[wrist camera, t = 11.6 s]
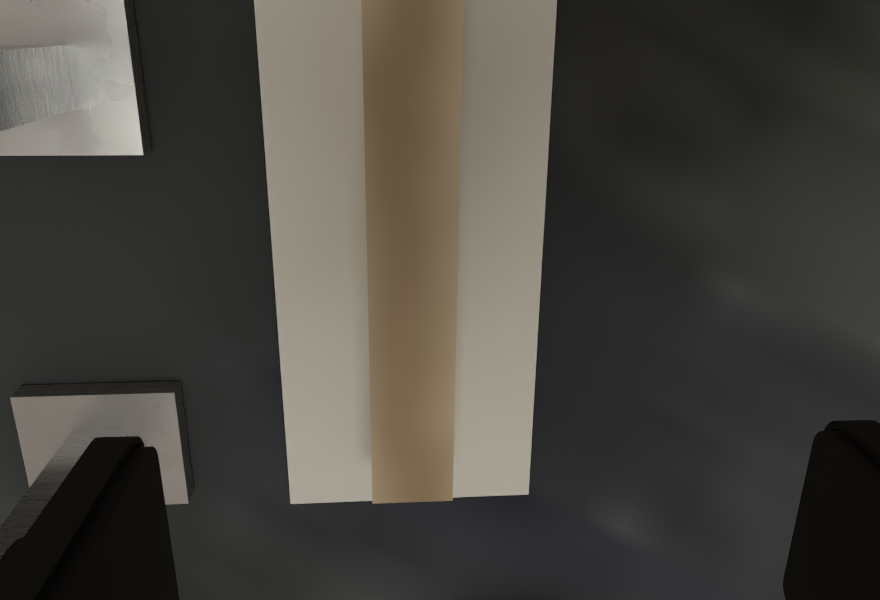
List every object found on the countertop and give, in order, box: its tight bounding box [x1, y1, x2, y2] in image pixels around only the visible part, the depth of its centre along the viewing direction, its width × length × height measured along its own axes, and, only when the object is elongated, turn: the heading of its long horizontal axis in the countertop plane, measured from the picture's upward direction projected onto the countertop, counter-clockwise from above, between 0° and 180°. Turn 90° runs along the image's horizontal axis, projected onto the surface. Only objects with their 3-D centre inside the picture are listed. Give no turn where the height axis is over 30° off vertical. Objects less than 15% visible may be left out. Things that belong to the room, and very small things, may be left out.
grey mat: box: [254, 0, 557, 504], centre depth 28 cm, size 10×24×1 cm, turn 0°
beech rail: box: [361, 0, 464, 504], centre depth 26 cm, size 3×20×3 cm, turn 179°
